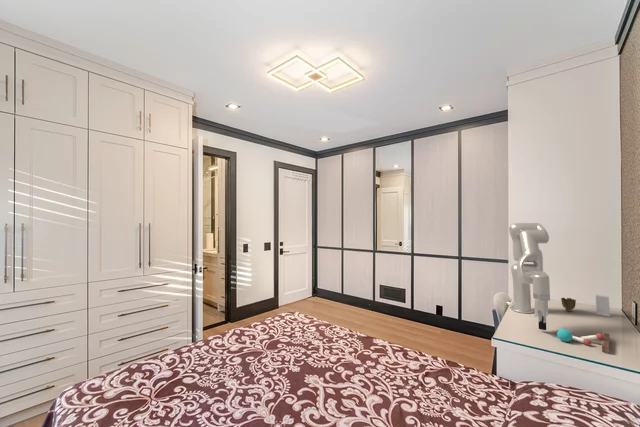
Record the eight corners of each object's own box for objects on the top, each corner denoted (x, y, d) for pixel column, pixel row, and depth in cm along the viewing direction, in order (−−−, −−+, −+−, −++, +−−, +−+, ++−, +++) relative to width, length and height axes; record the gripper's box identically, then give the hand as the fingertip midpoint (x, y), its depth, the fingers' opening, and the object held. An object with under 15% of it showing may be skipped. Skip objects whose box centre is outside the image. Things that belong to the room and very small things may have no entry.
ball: (570, 345, 146) (562, 336, 151) (578, 337, 143) (569, 328, 149) (559, 342, 146) (551, 333, 151) (567, 333, 143) (559, 325, 149)
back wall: (602, 352, 135) (602, 346, 135) (604, 338, 148) (603, 333, 148) (608, 353, 133) (608, 347, 133) (609, 339, 147) (609, 334, 147)
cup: (573, 309, 191) (573, 297, 191) (578, 313, 185) (577, 301, 185) (559, 308, 194) (559, 296, 195) (563, 312, 188) (563, 300, 188)
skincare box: (609, 315, 180) (609, 295, 180) (610, 317, 177) (609, 297, 177) (596, 313, 184) (595, 294, 184) (596, 315, 181) (595, 295, 181)
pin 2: (579, 336, 147) (601, 334, 141) (580, 334, 149) (602, 332, 143) (583, 342, 146) (605, 340, 140) (583, 340, 148) (605, 338, 142)
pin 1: (569, 340, 149) (589, 347, 140) (567, 335, 149) (588, 341, 140) (572, 338, 150) (593, 344, 141) (571, 333, 150) (591, 338, 141)
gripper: (535, 292, 167) (537, 323, 167) (530, 298, 157) (531, 331, 157) (552, 294, 161) (553, 327, 161) (547, 300, 151) (548, 335, 151)
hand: (542, 329), depth 159 cm, fingers closed
